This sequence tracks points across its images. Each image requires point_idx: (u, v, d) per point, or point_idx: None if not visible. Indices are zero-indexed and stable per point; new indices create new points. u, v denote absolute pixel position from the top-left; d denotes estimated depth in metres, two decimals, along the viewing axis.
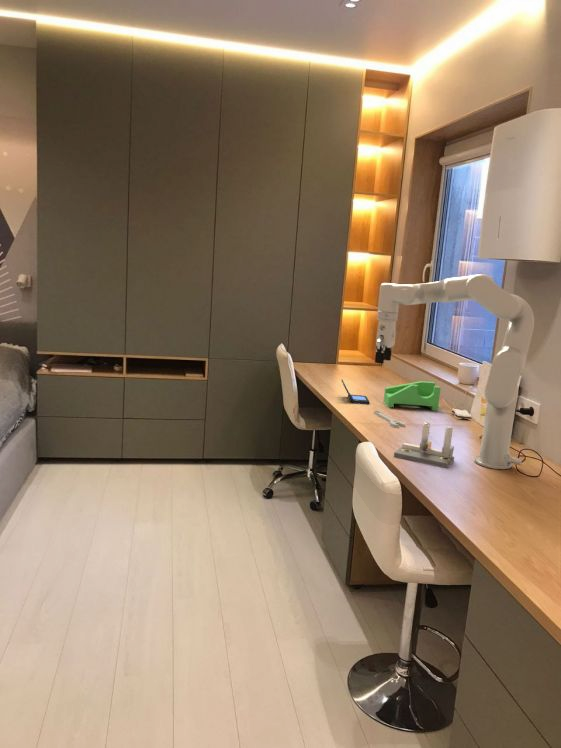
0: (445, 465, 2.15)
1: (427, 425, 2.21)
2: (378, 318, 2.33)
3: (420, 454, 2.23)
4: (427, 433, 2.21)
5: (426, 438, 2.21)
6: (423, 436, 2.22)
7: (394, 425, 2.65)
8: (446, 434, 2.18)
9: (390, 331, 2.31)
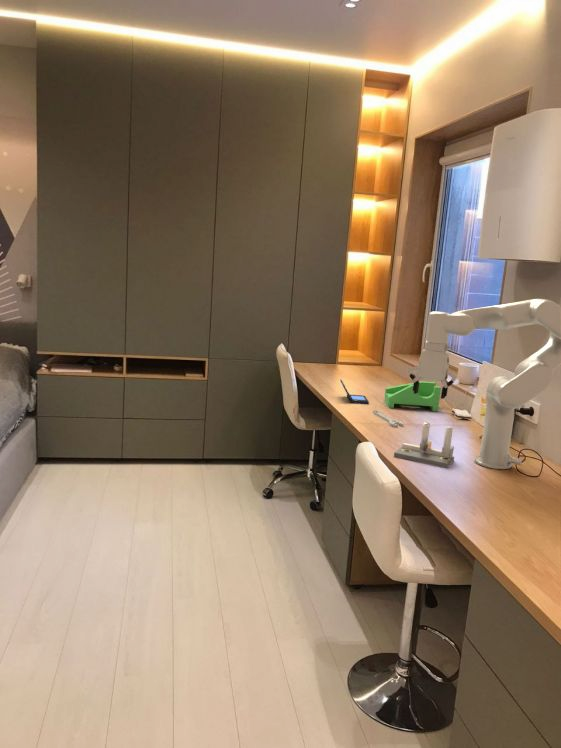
0: (445, 465, 2.15)
1: (427, 425, 2.21)
2: (441, 351, 2.14)
3: (420, 454, 2.23)
4: (427, 433, 2.21)
5: (426, 438, 2.21)
6: (423, 436, 2.22)
7: (393, 425, 2.65)
8: (446, 434, 2.18)
9: None
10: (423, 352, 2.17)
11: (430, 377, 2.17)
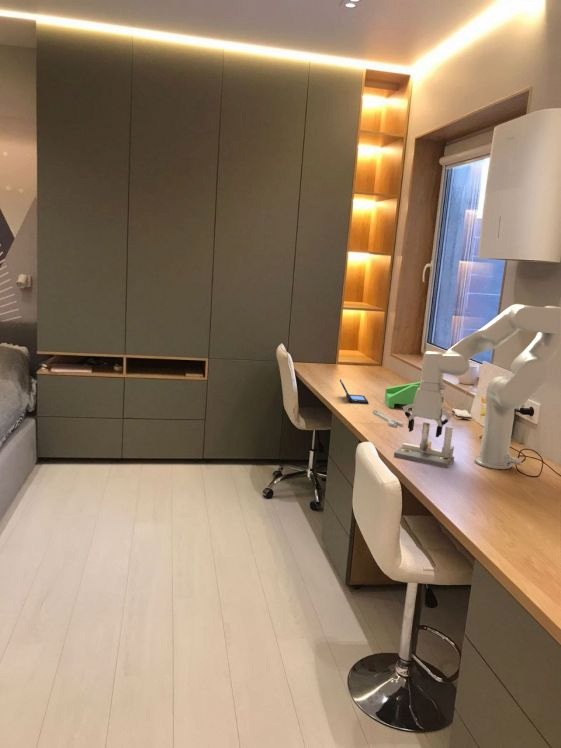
0: (445, 465, 2.15)
1: (427, 425, 2.21)
2: (435, 391, 2.16)
3: (420, 454, 2.23)
4: (427, 433, 2.21)
5: (426, 438, 2.21)
6: (423, 436, 2.22)
7: (392, 425, 2.65)
8: (446, 434, 2.18)
9: None
10: (418, 391, 2.19)
11: (425, 415, 2.19)
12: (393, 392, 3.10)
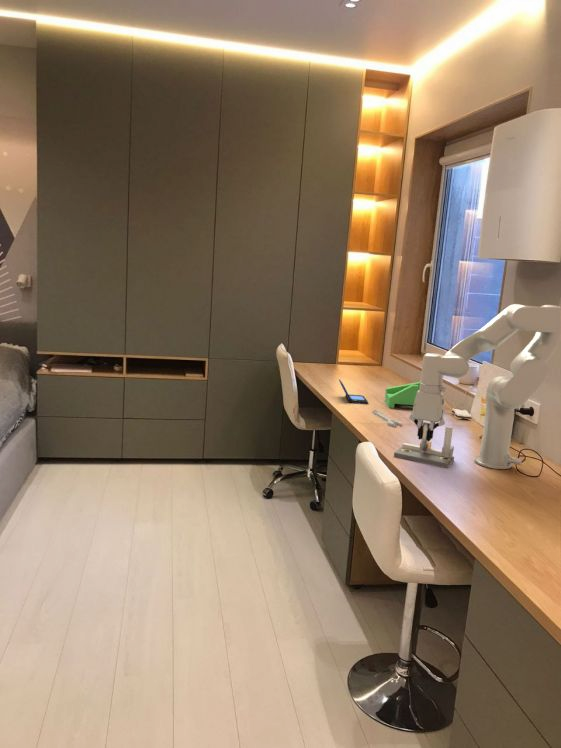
0: (445, 465, 2.15)
1: (427, 425, 2.21)
2: (435, 393, 2.16)
3: (420, 454, 2.23)
4: (427, 433, 2.21)
5: (426, 438, 2.21)
6: (423, 436, 2.22)
7: (391, 424, 2.65)
8: (446, 434, 2.18)
9: None
10: (418, 393, 2.19)
11: (426, 418, 2.19)
12: (393, 392, 3.10)
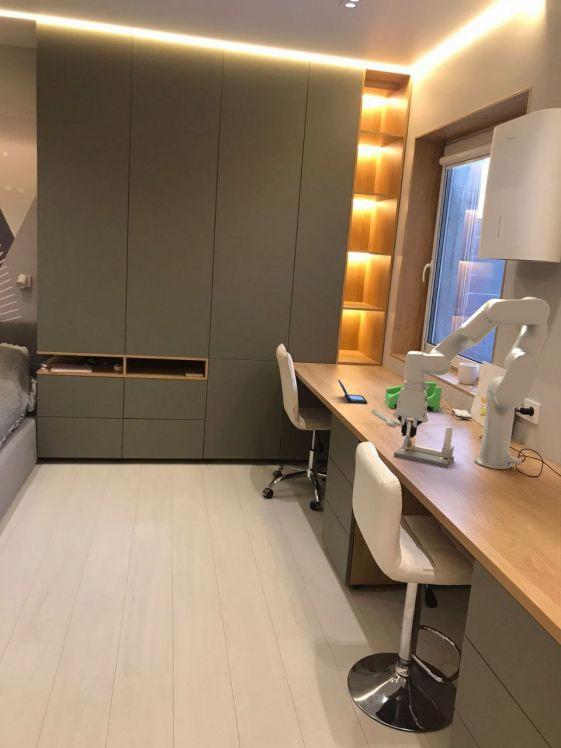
0: (445, 465, 2.15)
1: (411, 422, 2.23)
2: (419, 390, 2.19)
3: (420, 454, 2.23)
4: (410, 430, 2.24)
5: (410, 435, 2.24)
6: (407, 433, 2.24)
7: (391, 424, 2.66)
8: (446, 434, 2.18)
9: None
10: (402, 391, 2.22)
11: (409, 415, 2.22)
12: (394, 392, 3.10)
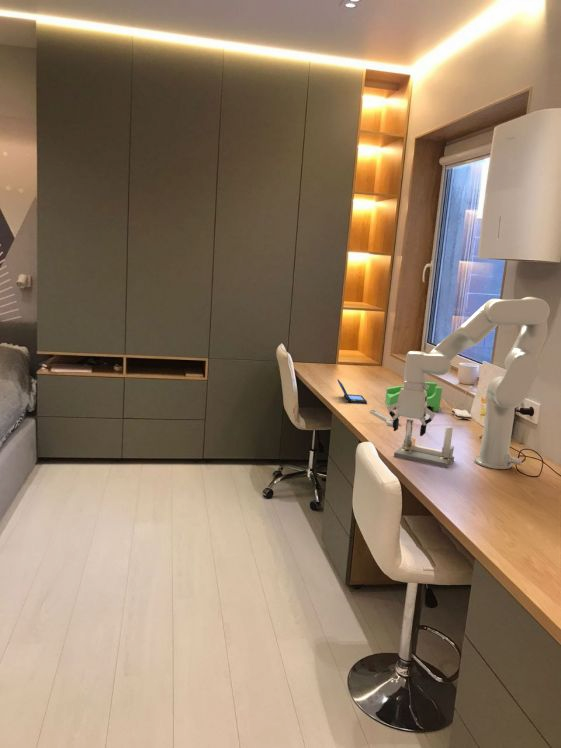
0: (445, 465, 2.15)
1: (410, 422, 2.23)
2: (418, 390, 2.19)
3: (420, 454, 2.23)
4: (410, 430, 2.24)
5: (410, 435, 2.24)
6: (407, 433, 2.24)
7: (390, 424, 2.66)
8: (446, 434, 2.18)
9: None
10: (402, 391, 2.22)
11: (409, 415, 2.22)
12: (394, 392, 3.10)
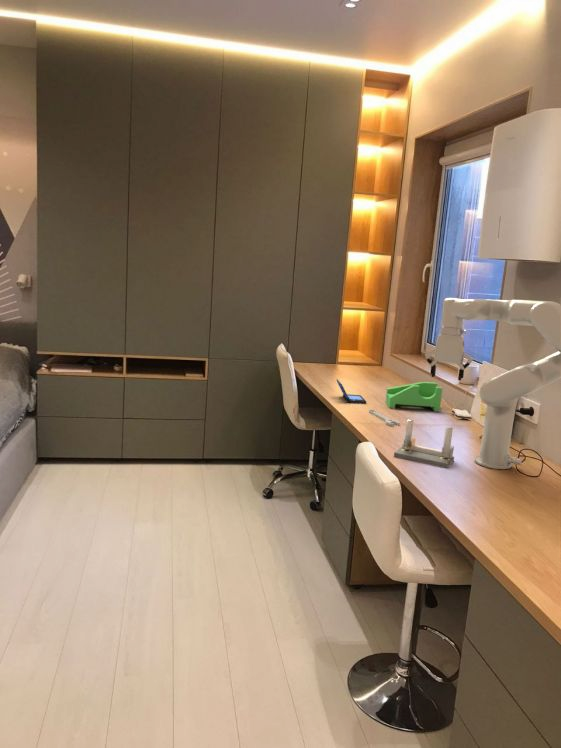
0: (445, 465, 2.15)
1: (410, 422, 2.23)
2: (457, 335, 2.25)
3: (420, 454, 2.23)
4: (410, 430, 2.24)
5: (410, 435, 2.24)
6: (407, 433, 2.24)
7: (389, 424, 2.66)
8: (446, 434, 2.18)
9: None
10: (439, 337, 2.28)
11: (447, 360, 2.28)
12: (394, 392, 3.09)
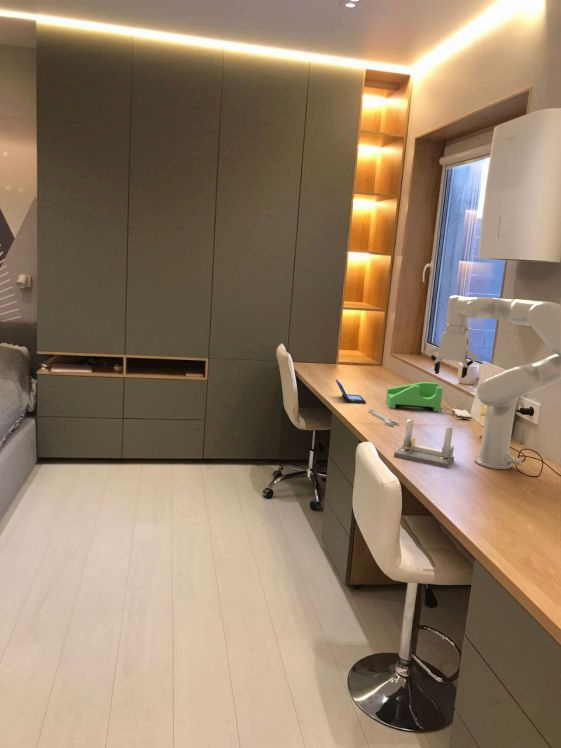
0: (445, 465, 2.15)
1: (410, 422, 2.23)
2: (461, 333, 2.26)
3: (420, 454, 2.23)
4: (410, 430, 2.24)
5: (410, 435, 2.24)
6: (407, 433, 2.24)
7: (389, 424, 2.66)
8: (446, 434, 2.18)
9: None
10: (444, 334, 2.30)
11: (451, 357, 2.29)
12: (394, 392, 3.09)
